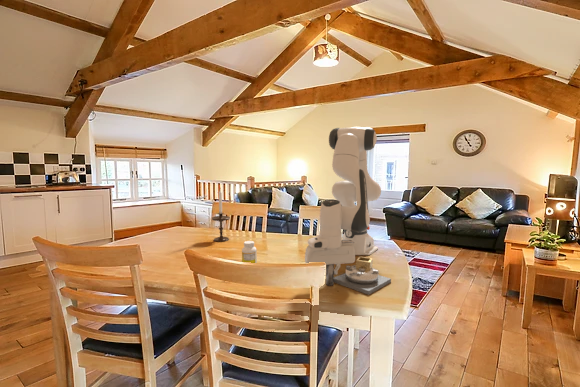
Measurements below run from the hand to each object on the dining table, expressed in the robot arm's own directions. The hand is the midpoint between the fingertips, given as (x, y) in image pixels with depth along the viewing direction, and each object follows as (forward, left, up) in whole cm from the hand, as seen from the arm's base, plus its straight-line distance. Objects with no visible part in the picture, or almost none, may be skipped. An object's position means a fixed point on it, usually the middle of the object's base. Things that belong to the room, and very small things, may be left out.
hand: (329, 274), depth 121 cm
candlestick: (-5, -90, -4) cm, 91 cm away
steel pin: (0, 0, -4) cm, 4 cm away
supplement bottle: (+13, -36, -4) cm, 39 cm away
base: (-11, +8, -4) cm, 14 cm away
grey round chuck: (-12, +7, -2) cm, 14 cm away
